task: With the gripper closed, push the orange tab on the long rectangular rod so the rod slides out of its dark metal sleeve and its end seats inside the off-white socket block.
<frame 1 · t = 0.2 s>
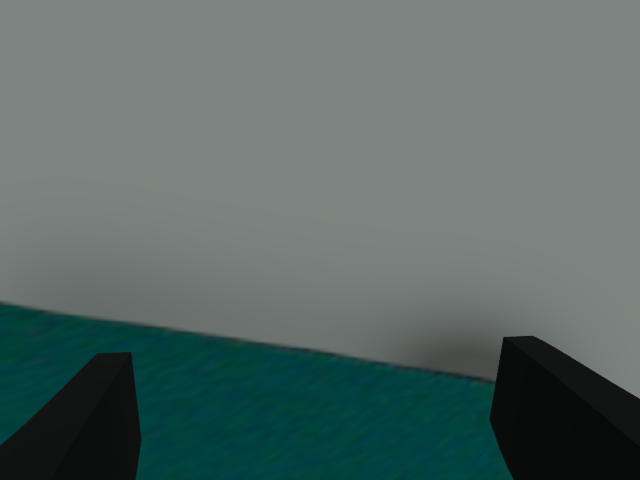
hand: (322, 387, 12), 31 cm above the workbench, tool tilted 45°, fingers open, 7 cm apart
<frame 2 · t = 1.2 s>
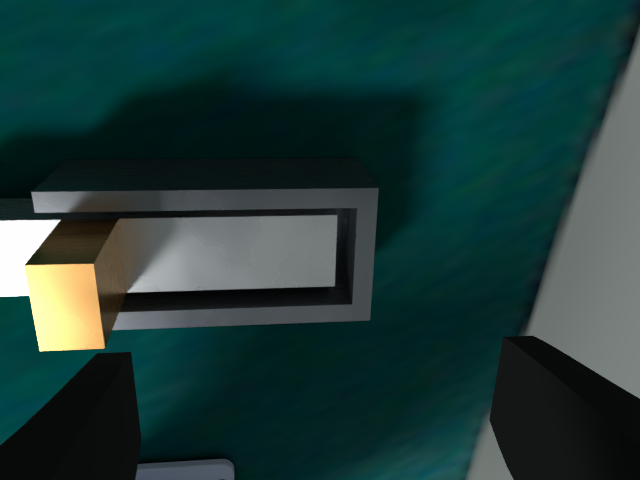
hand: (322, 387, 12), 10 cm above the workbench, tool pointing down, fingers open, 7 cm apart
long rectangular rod: (133, 264, 17), point 3 cm above the workbench, slide at 0.0 cm
sleeve: (210, 220, 21), on the workbench
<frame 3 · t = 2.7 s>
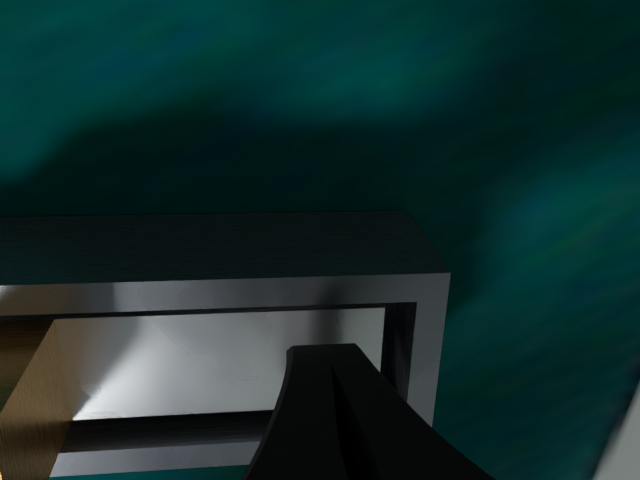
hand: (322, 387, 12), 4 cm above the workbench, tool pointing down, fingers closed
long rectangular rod: (77, 387, 11), point 3 cm above the workbench, slide at 0.0 cm
sleeve: (198, 297, 15), on the workbench
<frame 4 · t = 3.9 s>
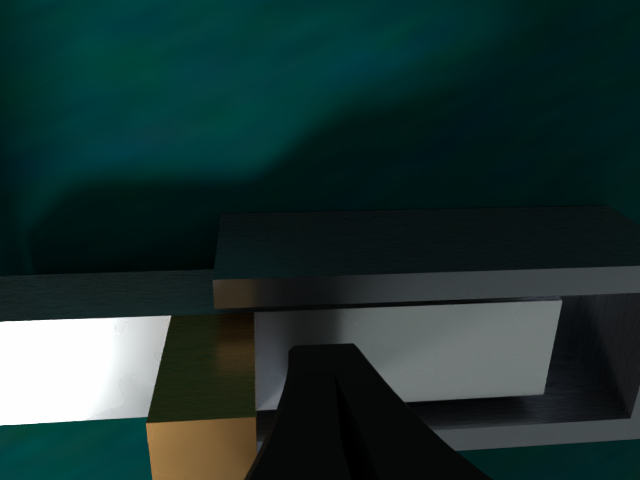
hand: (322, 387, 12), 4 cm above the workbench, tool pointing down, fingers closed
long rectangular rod: (276, 378, 12), point 3 cm above the workbench, slide at 1.4 cm, touching gripper
sleeve: (402, 290, 15), on the workbench
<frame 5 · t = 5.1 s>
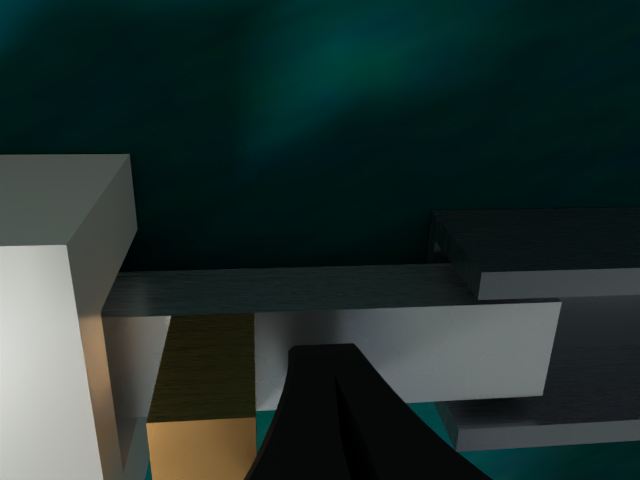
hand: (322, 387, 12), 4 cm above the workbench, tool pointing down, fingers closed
socket block: (49, 302, 14), on the workbench
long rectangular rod: (275, 379, 12), point 3 cm above the workbench, slide at 6.4 cm, touching gripper
sleeve: (588, 285, 16), on the workbench
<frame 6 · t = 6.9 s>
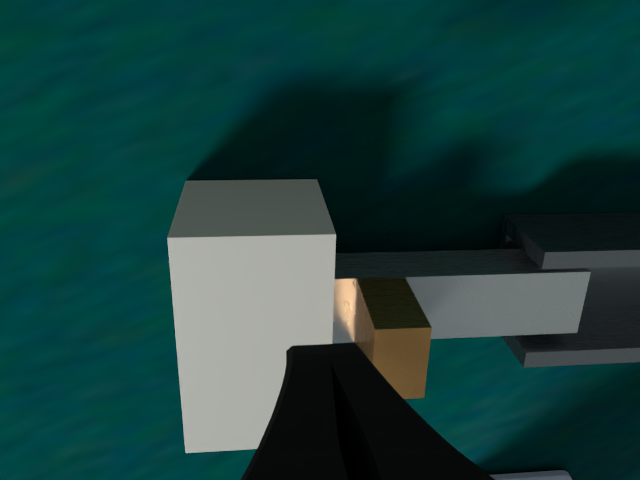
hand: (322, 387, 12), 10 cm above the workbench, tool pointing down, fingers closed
socket block: (254, 274, 22), on the workbench
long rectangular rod: (418, 317, 19), point 3 cm above the workbench, slide at 6.5 cm
sleeve: (605, 264, 23), on the workbench
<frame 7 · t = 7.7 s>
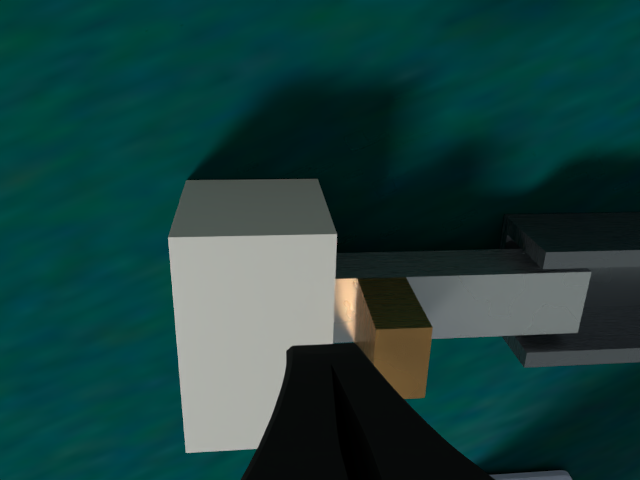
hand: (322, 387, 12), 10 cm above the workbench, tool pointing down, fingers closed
socket block: (254, 274, 22), on the workbench
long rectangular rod: (418, 317, 19), point 3 cm above the workbench, slide at 6.5 cm
sleeve: (605, 264, 23), on the workbench
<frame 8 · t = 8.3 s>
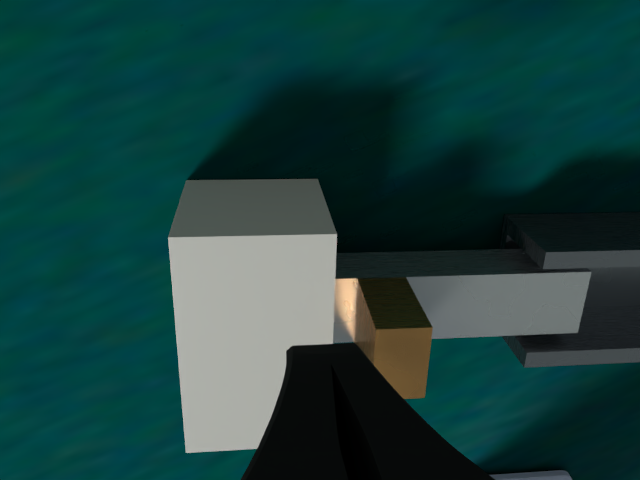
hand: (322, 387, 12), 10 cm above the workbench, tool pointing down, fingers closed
socket block: (254, 274, 22), on the workbench
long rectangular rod: (418, 317, 19), point 3 cm above the workbench, slide at 6.5 cm
sleeve: (605, 264, 23), on the workbench
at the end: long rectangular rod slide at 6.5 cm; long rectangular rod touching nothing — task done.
